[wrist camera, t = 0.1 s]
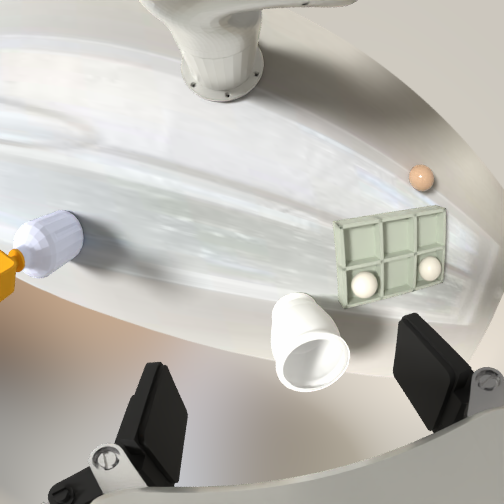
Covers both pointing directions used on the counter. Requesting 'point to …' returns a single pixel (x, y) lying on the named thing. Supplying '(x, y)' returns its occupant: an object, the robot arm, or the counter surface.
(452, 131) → the counter surface
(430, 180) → the brown egg
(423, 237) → the egg tray
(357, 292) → the cream egg
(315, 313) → the jar
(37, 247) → the soap bottle
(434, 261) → the cream egg
